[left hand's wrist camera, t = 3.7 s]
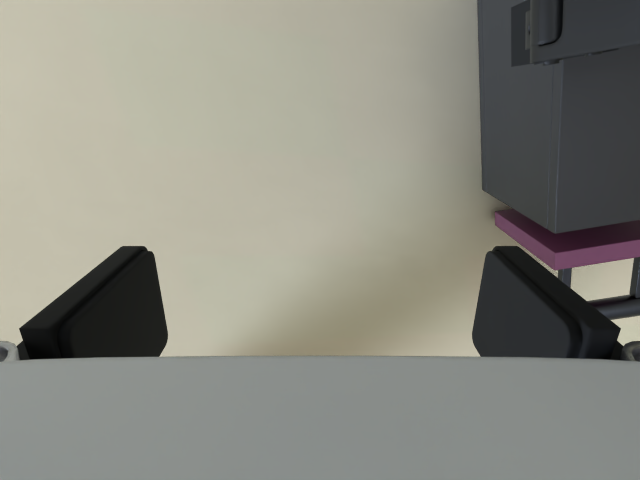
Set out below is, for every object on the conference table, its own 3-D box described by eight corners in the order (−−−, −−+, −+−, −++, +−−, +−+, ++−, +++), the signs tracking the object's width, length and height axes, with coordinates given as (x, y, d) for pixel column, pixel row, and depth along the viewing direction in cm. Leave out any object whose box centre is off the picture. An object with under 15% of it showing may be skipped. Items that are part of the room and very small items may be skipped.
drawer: (603, 270, 33) (693, 328, 25) (495, 287, 34) (550, 349, 26) (628, 11, 26) (765, -24, 18) (491, 38, 27) (566, 16, 19)
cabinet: (612, 167, 31) (747, 202, 21) (482, 189, 32) (554, 234, 22) (634, -57, 26) (827, -146, 16) (476, -24, 26) (569, -91, 16)
